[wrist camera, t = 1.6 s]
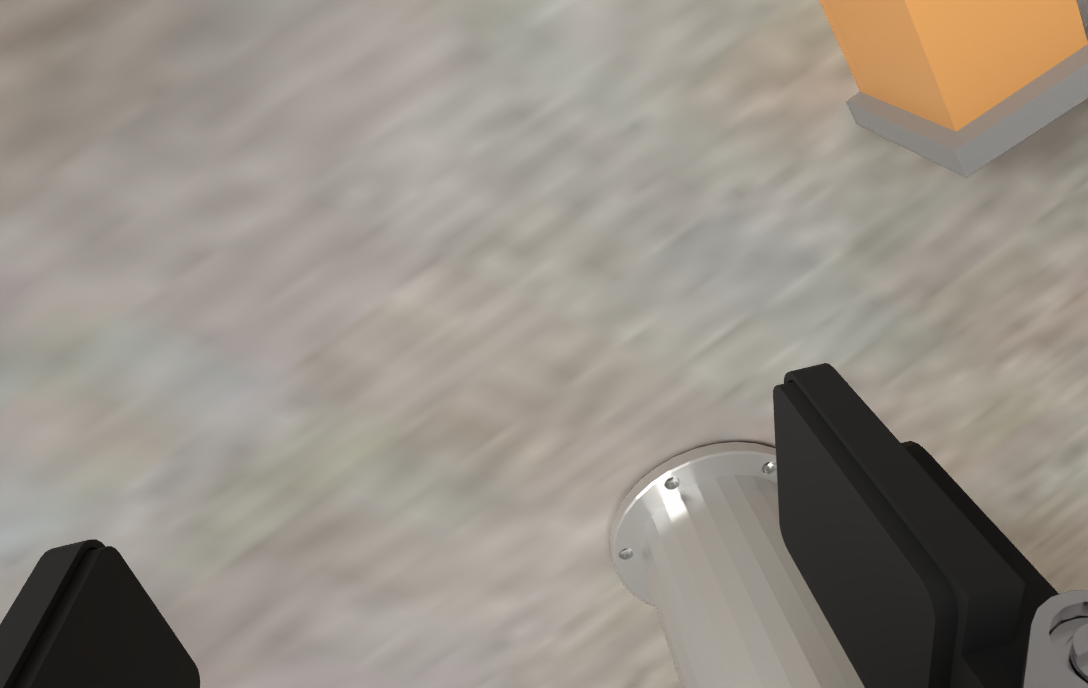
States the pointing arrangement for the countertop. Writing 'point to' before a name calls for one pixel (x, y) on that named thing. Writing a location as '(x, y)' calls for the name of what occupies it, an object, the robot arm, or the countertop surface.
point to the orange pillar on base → (961, 71)
